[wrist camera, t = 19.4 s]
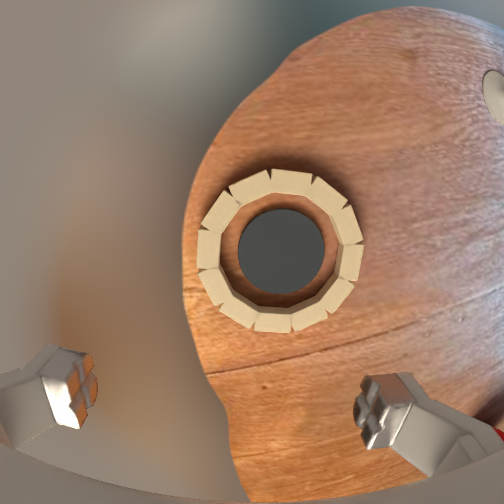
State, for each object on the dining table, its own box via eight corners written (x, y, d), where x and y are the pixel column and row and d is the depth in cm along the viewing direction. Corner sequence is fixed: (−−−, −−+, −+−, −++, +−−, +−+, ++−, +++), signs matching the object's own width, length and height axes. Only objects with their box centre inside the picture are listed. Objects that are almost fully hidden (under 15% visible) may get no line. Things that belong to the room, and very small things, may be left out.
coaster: (242, 204, 28) (241, 205, 28) (328, 213, 29) (330, 213, 28) (234, 288, 30) (234, 290, 30) (316, 294, 31) (317, 296, 30)
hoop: (205, 162, 27) (203, 162, 26) (366, 182, 28) (373, 183, 27) (195, 318, 31) (193, 326, 29) (341, 327, 32) (345, 334, 30)
